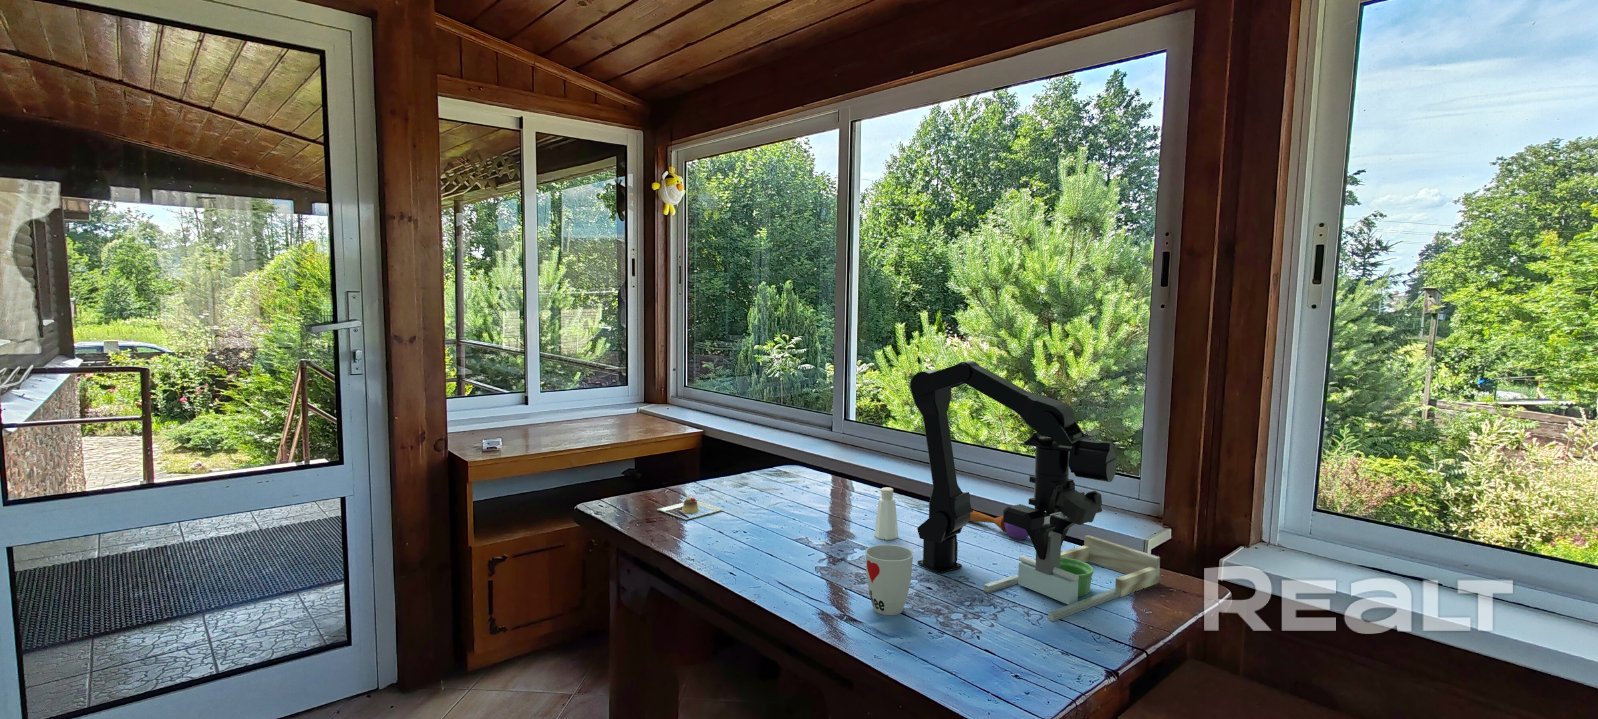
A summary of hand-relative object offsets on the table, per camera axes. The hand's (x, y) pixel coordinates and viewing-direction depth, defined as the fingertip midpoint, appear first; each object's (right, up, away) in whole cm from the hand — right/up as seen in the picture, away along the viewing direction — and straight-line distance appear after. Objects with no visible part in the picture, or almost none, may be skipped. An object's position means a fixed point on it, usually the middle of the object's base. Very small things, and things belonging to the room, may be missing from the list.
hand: (1048, 557), depth 129 cm
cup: (-30, -8, -6) cm, 31 cm away
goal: (+6, -7, +5) cm, 10 cm away
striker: (0, -7, +1) cm, 7 cm away
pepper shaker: (-25, -5, +33) cm, 42 cm away
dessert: (-72, -3, +51) cm, 89 cm away
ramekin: (+5, -7, +4) cm, 9 cm away
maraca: (+1, -5, +38) cm, 39 cm away
